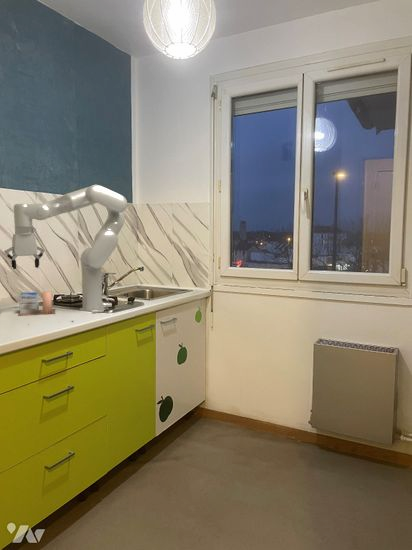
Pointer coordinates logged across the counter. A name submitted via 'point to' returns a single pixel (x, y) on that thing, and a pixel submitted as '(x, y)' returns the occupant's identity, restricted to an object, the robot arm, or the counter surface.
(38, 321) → the counter surface
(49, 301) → the peg
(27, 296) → the medicine box
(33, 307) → the socket board
